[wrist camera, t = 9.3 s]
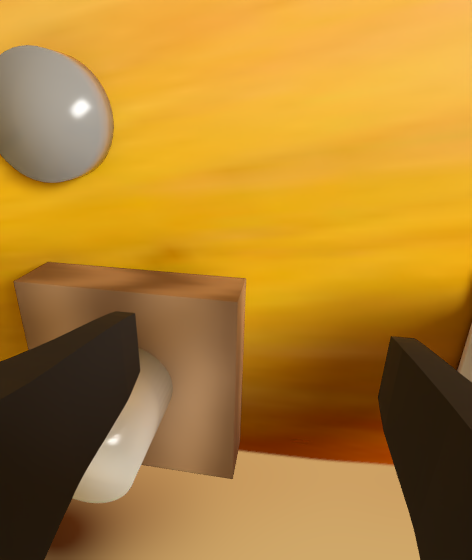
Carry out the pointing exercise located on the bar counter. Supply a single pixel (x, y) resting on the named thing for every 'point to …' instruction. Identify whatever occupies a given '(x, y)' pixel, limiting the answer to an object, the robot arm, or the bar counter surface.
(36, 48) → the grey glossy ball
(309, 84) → the bar counter surface
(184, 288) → the walnut block
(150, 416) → the cream glossy cylinder
